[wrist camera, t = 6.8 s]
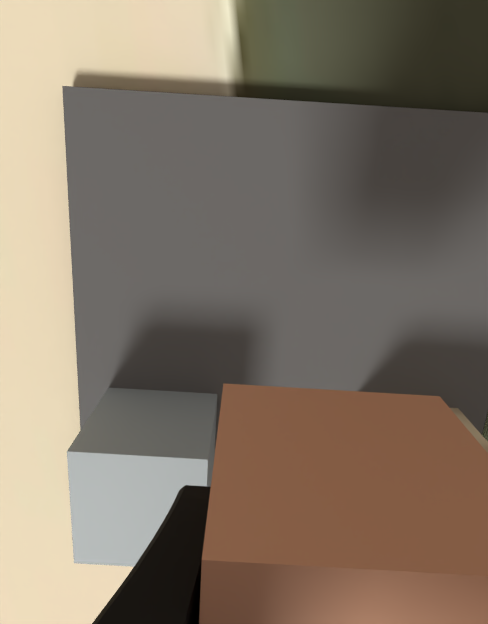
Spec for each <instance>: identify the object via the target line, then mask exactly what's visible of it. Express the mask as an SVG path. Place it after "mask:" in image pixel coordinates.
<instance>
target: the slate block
mask: <svg viewBox="0 0 488 624" xmlns="http://www.w3.org/2000/svg"><path fill="white" fill-rule="evenodd" d="M216 414H217V394H210V393H193V392H176V391H159V390H142V389H125V388H108V389H107V391H106V392H105V394H104V395H103V397H102V398H101V400H100V402H99V403H98V405H97V406H96V408H95V409H94V411H93V412H92V414H91V415H90V417H89V418H88V420H87V422H86V423H85V425H84V426H83V428H82V429H81V431H80V432H79V434H78V435H77V437H76V438H75V440H74V441H73V443H72V445H71V446H70V448H69V449H68V451H67V459H68V474H69V490H70V506H71V522H72V537H73V553H74V563H80V564H98V565H116V566H133V567H134V566H135V565H136V563H137V562H138V560H139V559H140V557H141V556H142V554H143V553H144V551H145V550H146V548H147V547H148V545H149V544H150V542H151V541H152V539H153V537H154V536H155V534H156V532H157V531H158V529H159V527H160V526H161V524H162V522H163V521H164V519H165V517H166V515H167V514H168V512H169V510H170V508H171V506H172V504H173V502H174V500H175V498H176V496H177V494H178V492H179V490H180V489H181V488H182V487H184V486H185V485H191V486H209V487H211V480H212V472H213V464H214V456H215V435H216Z"/></svg>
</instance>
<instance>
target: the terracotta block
mask: <svg viewBox="0 0 488 624" xmlns="http://www.w3.org/2000/svg"><path fill="white" fill-rule="evenodd" d="M199 624H488V453H487V452H486V450H485V449H484V448H483V447H482V446H481V444H480V443H479V442H478V441H477V440H476V439H475V437H474V436H473V435H472V434H471V433H470V431H469V430H468V429H467V428H466V427H465V426H464V424H463V423H462V422H461V421H460V420H459V418H458V417H457V416H456V415H455V414H454V413H453V411H452V410H451V409H450V408H449V407H448V405H447V404H446V403H445V402H444V401H443V400H442V398H441V397H440V396H428V395H411V394H394V393H377V392H360V391H343V390H326V389H309V388H292V387H275V386H258V385H241V384H224V383H223V391H222V399H221V407H220V415H219V423H218V432H217V440H216V448H215V456H214V464H213V472H212V480H211V488H210V497H209V505H208V513H207V521H206V529H205V537H204V545H203V553H202V565H201V590H200V615H199Z"/></svg>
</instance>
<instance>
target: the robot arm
mask: <svg viewBox="0 0 488 624" xmlns="http://www.w3.org/2000/svg"><path fill="white" fill-rule="evenodd" d="M210 488H211V487H209V486H191V485H185V486H184V487H182V488H181V489H180V490H179V492H178V494H177V496H176V498H175V500H174V502H173V504H172V506H171V508H170V510H169V512H168V514H167V515H166V517H165V519H164V521H163V522H162V524H161V526H160V527H159V529H158V531H157V532H156V534H155V536H154V537H153V539H152V541H151V542H150V544H149V545H148V547H147V548H146V550H145V551H144V553H143V554H142V556H141V557H140V559H139V560H138V562H137V563H136V565H135V566H134V568H133V569H132V571H131V572H130V574H129V575H128V576H127V578H126V579H125V581H124V582H123V583H122V585H121V586H120V587H119V589H118V590H117V591H116V593H115V594H114V595H113V597H112V598H111V599H110V601H109V602H108V603H107V605H106V606H105V607H104V609H103V610H102V611H101V613H100V614H99V615H98V617H97V618H96V619H95V621H94V622H93V623H92V624H199V615H200V590H201V565H202V553H203V545H204V537H205V529H206V521H207V513H208V505H209V497H210Z"/></svg>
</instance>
